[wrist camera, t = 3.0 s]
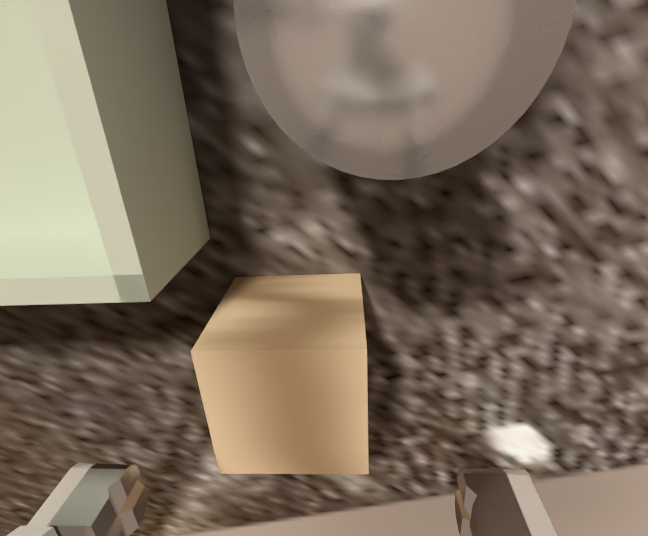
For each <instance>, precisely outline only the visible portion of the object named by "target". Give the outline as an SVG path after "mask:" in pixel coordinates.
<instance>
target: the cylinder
mask: <svg viewBox="0 0 648 536" xmlns="http://www.w3.org/2000/svg"><path fill="white" fill-rule="evenodd" d="M233 3H234V17H235V25H236V31H237V36H238V42H239V47H240V50H241V54H242V57H243V60H244V64H245V67H246V70H247V72H248V75H249V77H250V79H251V82H252V84H253V86H254V89H255V91H256V93H257V94H258V96H259V98H260V100H261V101H262V103H263V105H264V107H265V108H266V110H267V111H268V113H269V114H270V115H271V117H272V118H273V119H274V121H275V122H276V123H277V125H278V126H279V127H280V128H281V129H282V130H283V131H284V132H285V134H286V135H287V136H288V137H289V138H290V139H291V140H292V141H293V142H294V143H296V144H297V145H298V146H299V147H301V148H302V149H303V150H304V151H306V152H307V153H308V154H310V155H311V156H313V157H314V158H316V159H318V160H319V161H321V162H323V163H324V164H326V165H328V166H331V167H333V168H335V169H338V170H340V171H342V172H345V173H349V174H352V175H356V176H359V177H364V178H371V179H378V180H403V179H412V178H419V177H423V176H427V175H431V174H435V173H438V172H441V171H444V170H446V169H449V168H451V167H454V166H456V165H458V164H460V163H462V162H464V161H466V160H468V159H470V158H472V157H474V156H475V155H477V154H478V153H479V152H481V151H482V150H484V149H485V148H487V147H488V146H490V145H491V144H493V143H494V142H495V141H496V140H497V139H498V138H500V137H501V136H502V135H503V134H504V133H505V132H507V131H508V130H509V129H510V128H511V127H512V126H513V125H514V123H515V122H516V121H517V120H518V119H519V118H520V117H521V116H522V115H523V114H524V113H525V112H526V110H527V109H528V108H529V106H530V105H531V104H532V102H533V101H534V100H535V98H536V97H537V96H538V94H539V93H540V91H541V90H542V88H543V86H544V85H545V83H546V81H547V80H548V78H549V76H550V75H551V73H552V71H553V69H554V67H555V65H556V63H557V61H558V58H559V56H560V54H561V52H562V50H563V48H564V45H565V42H566V39H567V36H568V33H569V30H570V27H571V25H572V21H573V17H574V12H575V8H576V4H577V0H233Z"/></svg>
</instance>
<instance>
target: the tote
mask: <svg viewBox="0 0 648 536" xmlns="http://www.w3.org/2000/svg"><path fill="white" fill-rule="evenodd" d="M209 239H210V234H209V228H208V223H207V218H206V212H205V207H204V201H203V196H202V191H201V185H200V180H199V175H198V169H197V164H196V159H195V153H194V148H193V142H192V137H191V132H190V126H189V121H188V116H187V110H186V105H185V100H184V94H183V89H182V84H181V78H180V73H179V67H178V62H177V57H176V51H175V46H174V41H173V35H172V30H171V25H170V19H169V14H168V8H167V3H166V0H0V306H8V305H45V304H82V303H119V302H151V300H152V299H153V298H154V297H155V296H156V295H157V294H158V293H159V292H160V291H161V290H162V289H163V288H164V287H165V286H166V285H167V284H168V283H169V281H170V280H171V279H172V278H173V277H174V276H175V275H176V274H177V273H178V272H179V271H180V270H181V269H182V268H183V267H184V266H185V265H186V264H187V262H188V261H189V260H190V259H191V258H192V257H193V256H194V255H195V254H196V253H197V252H198V251H199V250H200V249H201V248H202V247H203V246H204V245H205V244H206V242H207V241H208V240H209Z"/></svg>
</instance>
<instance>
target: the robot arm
mask: <svg viewBox="0 0 648 536" xmlns="http://www.w3.org/2000/svg"><path fill="white" fill-rule="evenodd" d="M139 476H140V471H139V469H138V467H137V465H123V464H100V463H77V464H76V465H75V466H73V467H72V468H71V469H70V470H69V471H68V472H67V474H66V475H65V476H64V478H63V479H62V480H61V482H60V483H59V484H58V485H57V487H56V488H55V489H54V491H53V492H52V493H51V495H50V496H49V497H48V498H47V500H46V501H45V502H44V504H43V505H42V506H41V508H40V509H39V510H38V512H37V513H36V514H35V515H34V517H33V518H32V519H31V521H30V522H29V523H28V525H27V526H20V527H18V528H17V529H15V530H14V531H13V532H11V533H10V534H8V535H7V536H129V535H130V534H131V533H132V532H133V531H135V530H136V529H137V528H138V527H139V525H140V523H141V521H142V519H143V517H144V515H145V510H146V506H147V491H146V488H145V486H144V485H143V484H142V483H140V482H139V481H138V478H139ZM457 481H458V485H459V490H457V491H456V493H455V511H456V519H457V524H458V529H459V533H460V536H558V534H557V532H556V530H555V528H554V526H553V523H552V521H551V519H550V517H549V515H548V513H547V511H546V509H545V507H544V505H543V503H542V500H541V498H540V496H539V494H538V492H537V490H536V488H535V486H534V484H533V482H532V479H531V477H530V475H529V474H528V473H527V471H526V470H517V469H503V470H501V469H459V471H458V475H457Z"/></svg>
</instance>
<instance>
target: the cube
mask: <svg viewBox="0 0 648 536" xmlns="http://www.w3.org/2000/svg"><path fill="white" fill-rule="evenodd" d="M191 355H192V359H193V363H194V367H195V372H196V376H197V380H198V384H199V388H200V393H201V397H202V401H203V405H204V409H205V414H206V418H207V422H208V426H209V431H210V435H211V439H212V443H213V447H214V452H215V456H216V460H217V464H218V468H219V473H220V474H369V468H368V388H367V343H366V332H365V320H364V309H363V298H362V287H361V276H360V273H359V274H326V275H292V276H258V277H235V279H234V280H233V282H232V284H231V285H230V287H229V289H228V290H227V292H226V294H225V295H224V297H223V299H222V300H221V302H220V304H219V305H218V307H217V309H216V310H215V312H214V314H213V315H212V317H211V319H210V320H209V322H208V324H207V325H206V327H205V329H204V330H203V332H202V334H201V335H200V337H199V339H198V340H197V342H196V344H195V345H194V347H193V349H192V350H191Z"/></svg>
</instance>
